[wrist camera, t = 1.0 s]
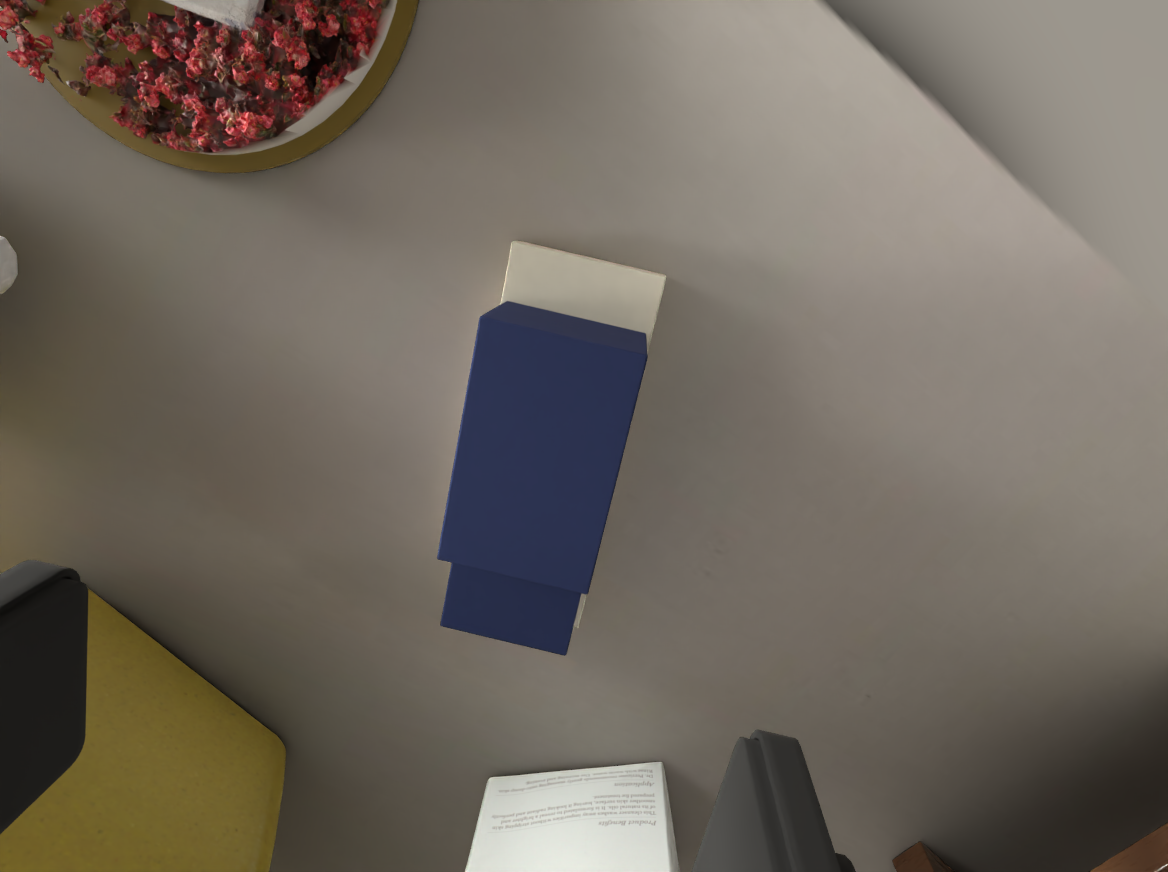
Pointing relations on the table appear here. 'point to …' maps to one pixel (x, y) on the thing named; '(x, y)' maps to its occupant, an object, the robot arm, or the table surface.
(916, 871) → the shelf
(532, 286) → the navy stepped block
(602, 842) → the cosmetic box
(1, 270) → the white boxy flared piece
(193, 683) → the flower pot
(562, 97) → the table surface
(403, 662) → the table surface
